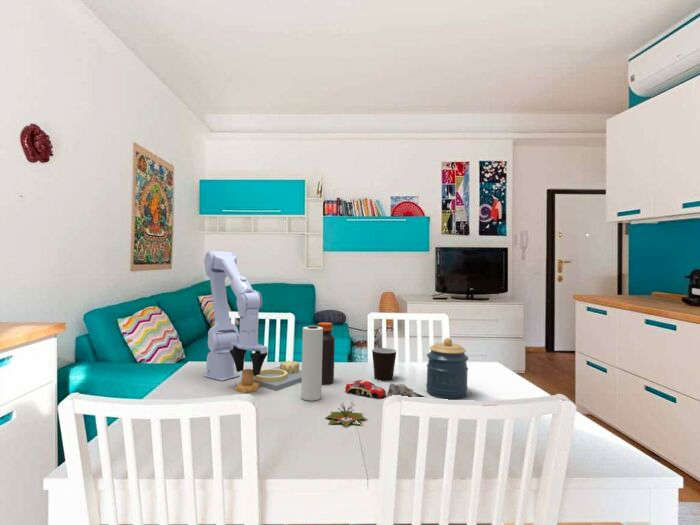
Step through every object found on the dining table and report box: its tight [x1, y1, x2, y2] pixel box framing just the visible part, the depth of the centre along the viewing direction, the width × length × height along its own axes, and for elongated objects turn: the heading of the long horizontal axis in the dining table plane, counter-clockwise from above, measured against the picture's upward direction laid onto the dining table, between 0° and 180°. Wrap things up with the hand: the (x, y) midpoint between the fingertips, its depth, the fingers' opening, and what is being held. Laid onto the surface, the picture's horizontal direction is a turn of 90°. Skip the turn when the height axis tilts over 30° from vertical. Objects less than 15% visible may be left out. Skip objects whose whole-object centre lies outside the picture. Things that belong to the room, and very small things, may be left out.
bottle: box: [317, 321, 336, 386], centre depth 145 cm, size 7×7×20 cm
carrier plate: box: [253, 360, 302, 391], centre depth 147 cm, size 16×19×4 cm
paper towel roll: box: [300, 324, 323, 402], centre depth 129 cm, size 7×6×21 cm
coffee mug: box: [371, 347, 397, 382], centre depth 152 cm, size 12×9×10 cm
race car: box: [344, 379, 387, 399], centre depth 133 cm, size 13×5×4 cm, turn 62°
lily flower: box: [324, 401, 367, 428], centre depth 112 cm, size 12×12×5 cm
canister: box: [425, 337, 469, 400], centre depth 136 cm, size 13×13×18 cm
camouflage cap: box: [386, 382, 425, 398], centre depth 122 cm, size 7×11×10 cm
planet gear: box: [235, 368, 260, 394], centre depth 135 cm, size 7×7×6 cm
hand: (248, 373), depth 135 cm, fingers open, 7 cm apart
